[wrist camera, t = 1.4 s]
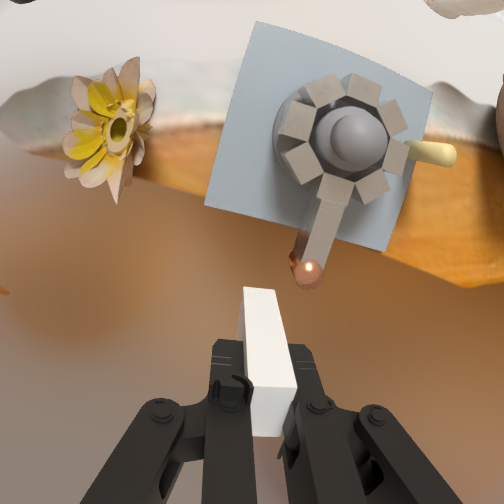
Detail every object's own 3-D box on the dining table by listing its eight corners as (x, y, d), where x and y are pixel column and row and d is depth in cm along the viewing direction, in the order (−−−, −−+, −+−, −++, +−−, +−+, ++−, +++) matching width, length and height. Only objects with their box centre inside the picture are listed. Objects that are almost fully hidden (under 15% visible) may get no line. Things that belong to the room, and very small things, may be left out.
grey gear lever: (297, 63, 26) (306, 52, 22) (403, 106, 28) (425, 104, 23) (241, 258, 33) (242, 275, 29) (346, 281, 35) (359, 300, 30)
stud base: (255, 25, 28) (262, -17, 17) (426, 93, 31) (481, 87, 21) (205, 202, 35) (192, 230, 25) (380, 248, 38) (421, 285, 28)
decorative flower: (88, 51, 26) (60, 38, 17) (176, 70, 30) (176, 61, 22) (56, 168, 32) (24, 193, 23) (137, 186, 36) (128, 217, 27)
